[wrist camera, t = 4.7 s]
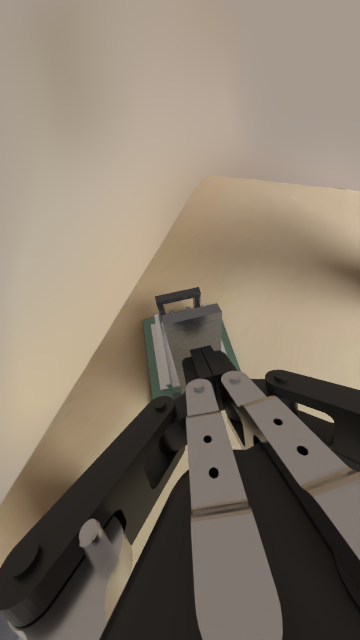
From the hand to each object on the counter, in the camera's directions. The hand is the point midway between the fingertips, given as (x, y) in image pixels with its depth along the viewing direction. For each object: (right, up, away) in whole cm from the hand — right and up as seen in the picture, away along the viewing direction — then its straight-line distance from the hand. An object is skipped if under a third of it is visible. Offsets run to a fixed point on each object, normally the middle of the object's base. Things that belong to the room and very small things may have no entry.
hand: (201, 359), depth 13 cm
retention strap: (+1, -6, +8) cm, 10 cm away
